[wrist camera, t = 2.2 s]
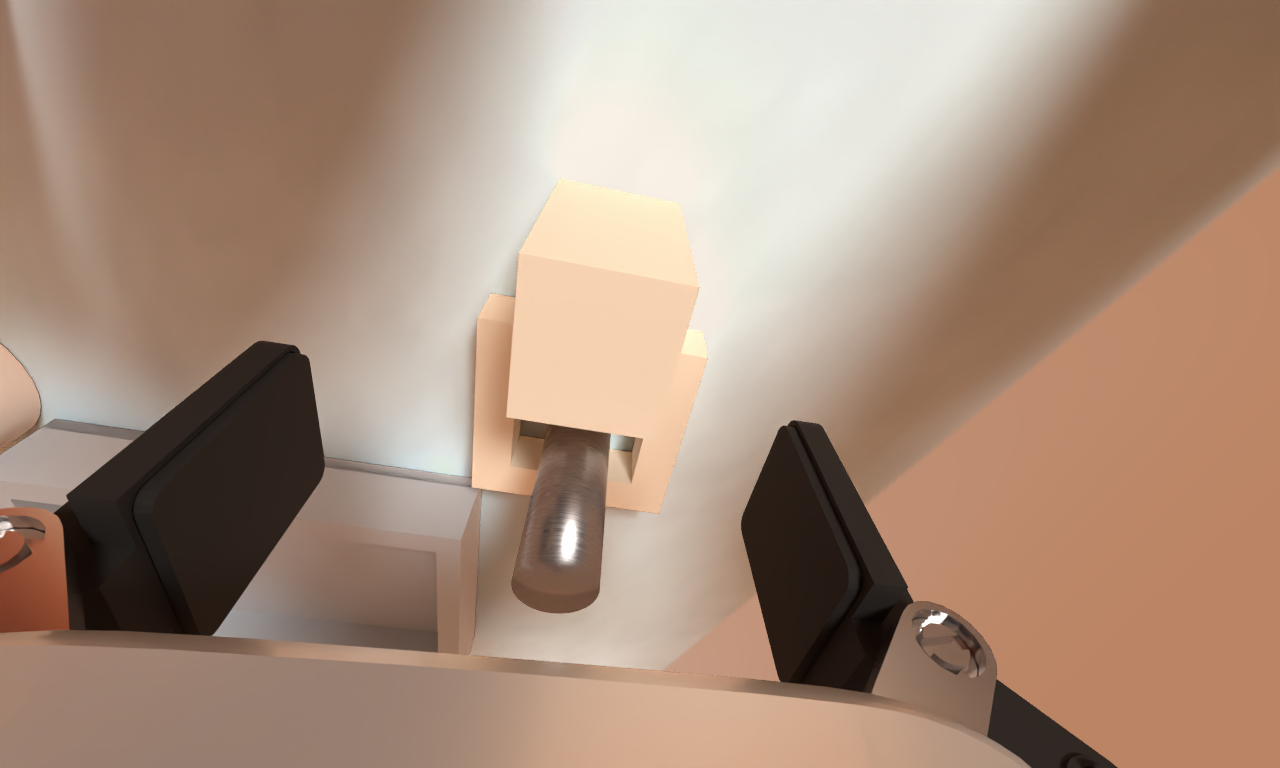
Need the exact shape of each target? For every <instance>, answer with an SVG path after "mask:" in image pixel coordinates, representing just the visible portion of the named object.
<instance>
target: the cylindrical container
mask: <svg viewBox="0 0 1280 768" xmlns="http://www.w3.org/2000/svg"><path fill="white" fill-rule="evenodd" d="M40 409H41V404H40V398H39V394H38V391H37V389H36V387H35V385H34V383H33V380H32V379H31V378H30V376H29V375H28V373H27V372H26V370H25V369H24V367H23V366H22V365H21V364H20V363H19V362H18V361H17V359H16V358H15V357H14V356H13V355H12V354H11V353H10V352H9V351H8V350H7V349H6V348H5V347H4V346H2V345H1V344H0V448H2V447H4V446H5V445H7V444H8V443H10V442H11V441H13V440H14V439H16V438H17V437H19V436H20V435H22V434H24V433H25V432H27V431H28V430H29V429H30V428H32V427H33V426H34V425H35V424H36V422H37V420H38V418H39V416H40Z"/></svg>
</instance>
